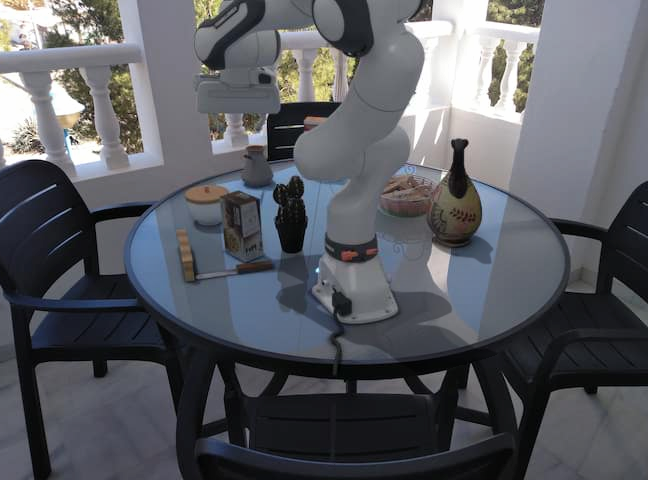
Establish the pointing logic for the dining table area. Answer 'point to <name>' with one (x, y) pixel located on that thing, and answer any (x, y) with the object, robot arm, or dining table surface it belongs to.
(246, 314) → the dining table surface
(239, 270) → the table knife
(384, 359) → the dining table surface
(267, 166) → the coffee pot
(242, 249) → the coffee box
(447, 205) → the ceramic jug
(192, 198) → the lidded bowl
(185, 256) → the oak rail
